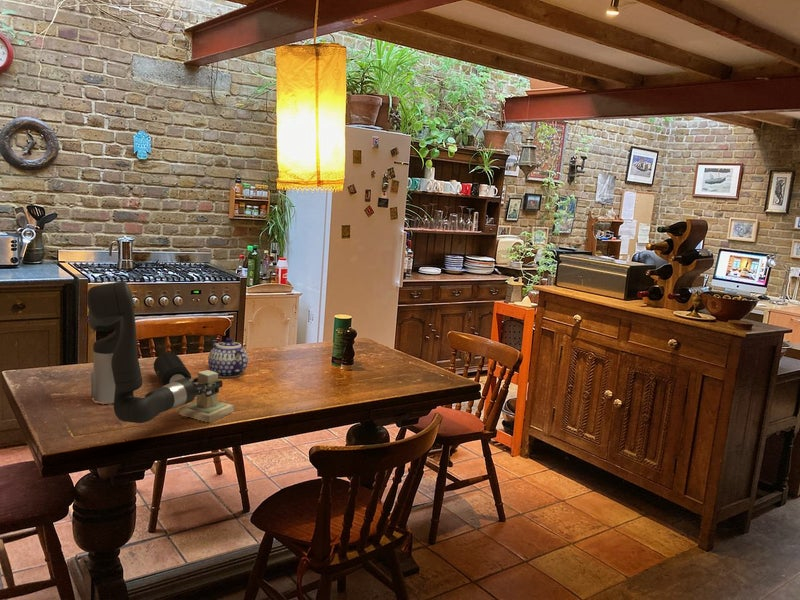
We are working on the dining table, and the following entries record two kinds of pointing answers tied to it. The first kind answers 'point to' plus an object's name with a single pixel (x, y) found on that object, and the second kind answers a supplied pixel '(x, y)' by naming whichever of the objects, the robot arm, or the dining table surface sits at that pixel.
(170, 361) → the portable speaker
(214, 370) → the teapot
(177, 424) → the dining table surface
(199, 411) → the birch base
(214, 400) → the box
